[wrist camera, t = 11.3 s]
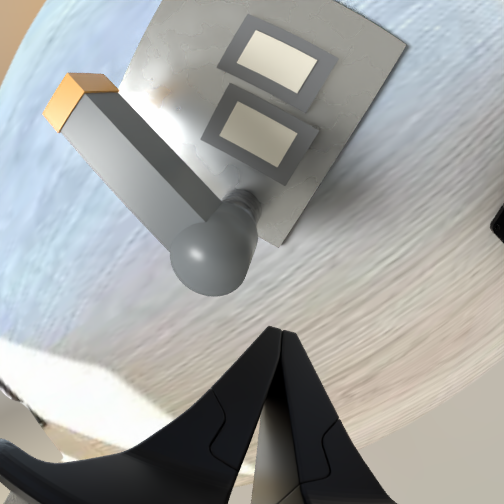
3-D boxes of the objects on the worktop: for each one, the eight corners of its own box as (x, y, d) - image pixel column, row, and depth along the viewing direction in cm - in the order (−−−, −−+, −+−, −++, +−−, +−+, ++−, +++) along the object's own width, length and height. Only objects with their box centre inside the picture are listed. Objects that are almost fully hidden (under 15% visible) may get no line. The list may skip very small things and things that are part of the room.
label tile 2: (318, 130, 18) (319, 131, 17) (285, 184, 20) (285, 186, 19) (231, 83, 18) (229, 82, 17) (202, 138, 19) (199, 139, 19)
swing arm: (272, 238, 17) (264, 268, 14) (224, 275, 18) (209, 308, 15) (108, 67, 14) (71, 64, 11) (74, 115, 15) (36, 121, 13)
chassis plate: (404, 45, 15) (428, 32, 11) (276, 250, 22) (268, 282, 18) (196, -48, 14) (173, -75, 10) (98, 151, 21) (60, 163, 17)
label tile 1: (338, 59, 16) (339, 58, 15) (305, 113, 18) (305, 113, 17) (249, 15, 15) (247, 13, 15) (218, 68, 17) (215, 67, 17)
